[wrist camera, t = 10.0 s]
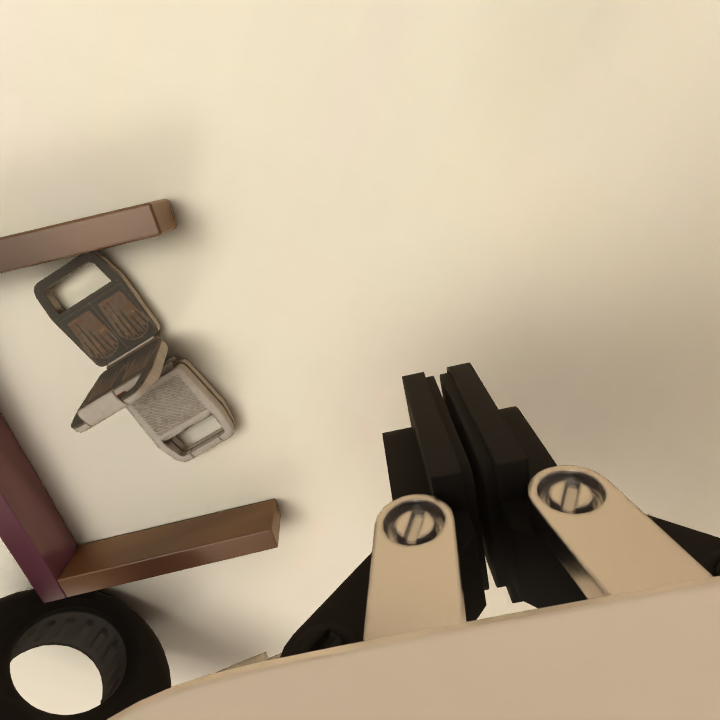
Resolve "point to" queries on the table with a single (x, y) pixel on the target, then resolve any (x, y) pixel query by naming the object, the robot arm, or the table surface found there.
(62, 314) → the strap clip
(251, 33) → the table surface
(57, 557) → the frame
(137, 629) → the controller
